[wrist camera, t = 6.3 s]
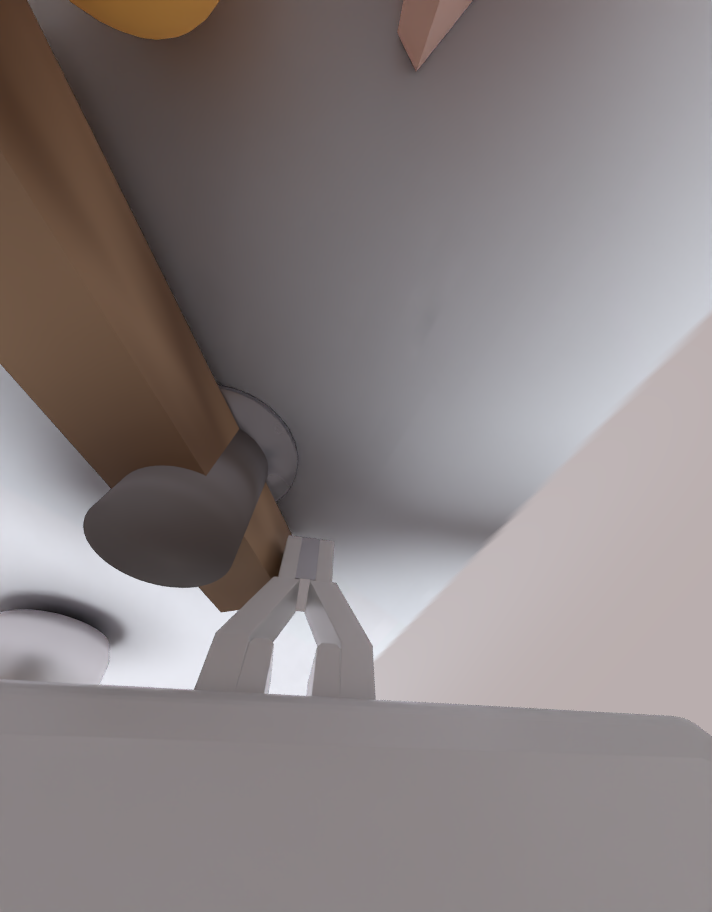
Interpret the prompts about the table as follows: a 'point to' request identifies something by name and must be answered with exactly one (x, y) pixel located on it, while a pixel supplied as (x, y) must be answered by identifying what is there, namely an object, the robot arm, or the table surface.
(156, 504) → the lever
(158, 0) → the ball
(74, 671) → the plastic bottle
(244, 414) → the pivot base
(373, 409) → the table surface
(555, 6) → the table surface
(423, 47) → the tray
